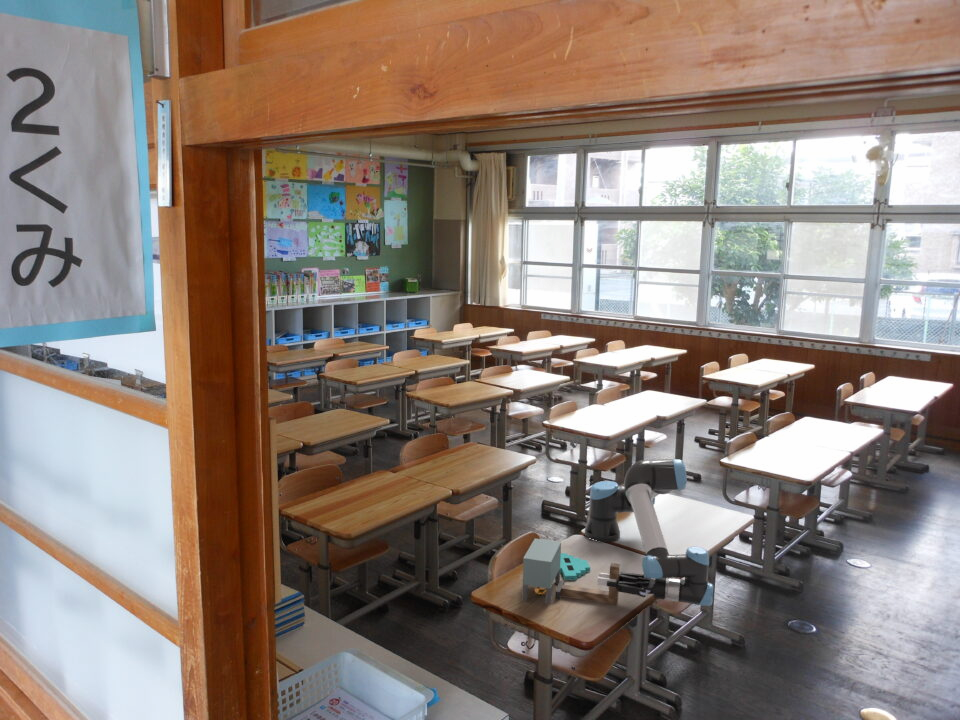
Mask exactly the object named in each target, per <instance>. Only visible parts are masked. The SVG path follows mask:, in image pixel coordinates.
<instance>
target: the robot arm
mask: <svg viewBox="0 0 960 720" xmlns="http://www.w3.org/2000/svg"><path fill="white" fill-rule="evenodd" d="M687 481H688V479H687V470H686V465H685V463H684V461H683V460H681V459H679V458H672V459H671V458H665V459H641V460H638V461H635V462H634V463H633V464H632V465H631V466H630V467H628V469H627V471H626V474H625V477H624V481H623V485H621V484H618V483H617V482H616V481H610V480H603V481H598V482H595V483H594V484H592V485H591V487H590V491H589V517H588V521H586V525H585V528H584V536H585V537H586V538H587V537H588V538H587V539H589V538H591V539H594V540H597V541H596V542H598V541H601V542H600V543H612V542H616V541H618V540H619V539H620V538H621V537H620V536H621V531H620V527H619V523H618V521H617V519H618V517H617V515H618V514H619V513H620V514H621V513H622V514H623V513H624V514H627V513H633V515H634V519H635V521H636V524H637V529H638V532H639V534H640V538H641V543H642V546H643V548H644V553H645V556H643V558H642V562H641V567H642V572H643V574H642V573H633V572H632V573H631V572H623V571H621V572H620V573H619V581H618V579H617V580H616V579H609V578H610V573H606V572H599V573H598V577H597V586H601V587H608V588H609V587H614V588H616V589H617V591H618V593H624V594H629V595H634V596H639V597H642V598H646V596H647V595H653V597H654V599H658V600H668V601H672V602H680V603H685V604H692V605H697V606H708V607H709V606H712V604H713V602H714V601H713V600H714V584H713V583H711V582H709V580H708V579H709V578H708V577H709V569H710V567H709V566H710V554H709V552H708V550H707V549H706V548H703V547H700V546H691V547H690V546H689V547H687V549H686V550H685V551H686V552H685V554H670V553H669V551H668V547H667V544H666V541H665V537H664V534H663V531H662V528H661V524H660V521H659V518H658V515H657V512H656V509H655V506H654V505H655V503H656V497H658V496H659V495H666V494H670V492H672V491H682V490H685V489H686V487H687ZM591 539H590V540H591ZM681 578H684V579H681Z"/></svg>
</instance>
